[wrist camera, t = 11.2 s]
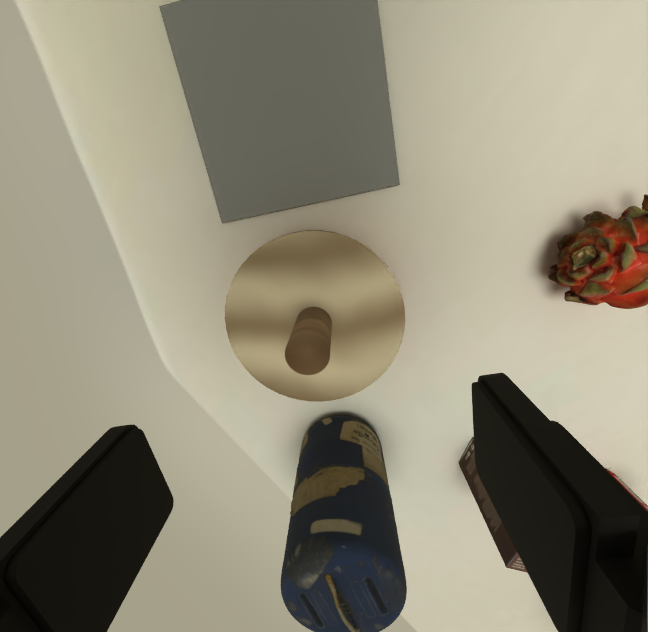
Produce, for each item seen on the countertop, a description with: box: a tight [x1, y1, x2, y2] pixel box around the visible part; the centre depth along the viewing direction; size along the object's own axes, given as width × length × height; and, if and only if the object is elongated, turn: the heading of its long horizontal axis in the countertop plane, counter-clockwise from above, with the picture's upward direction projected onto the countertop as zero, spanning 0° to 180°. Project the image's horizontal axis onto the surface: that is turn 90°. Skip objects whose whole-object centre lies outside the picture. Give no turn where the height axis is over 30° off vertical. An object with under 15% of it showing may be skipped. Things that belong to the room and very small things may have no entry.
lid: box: [225, 230, 405, 401], centre depth 25 cm, size 15×15×7 cm
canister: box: [281, 416, 407, 632], centre depth 31 cm, size 10×10×18 cm
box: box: [459, 438, 528, 573], centre depth 33 cm, size 6×4×12 cm
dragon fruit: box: [548, 195, 648, 309], centre depth 28 cm, size 8×8×12 cm
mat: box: [160, 0, 400, 223], centre depth 28 cm, size 17×17×1 cm
